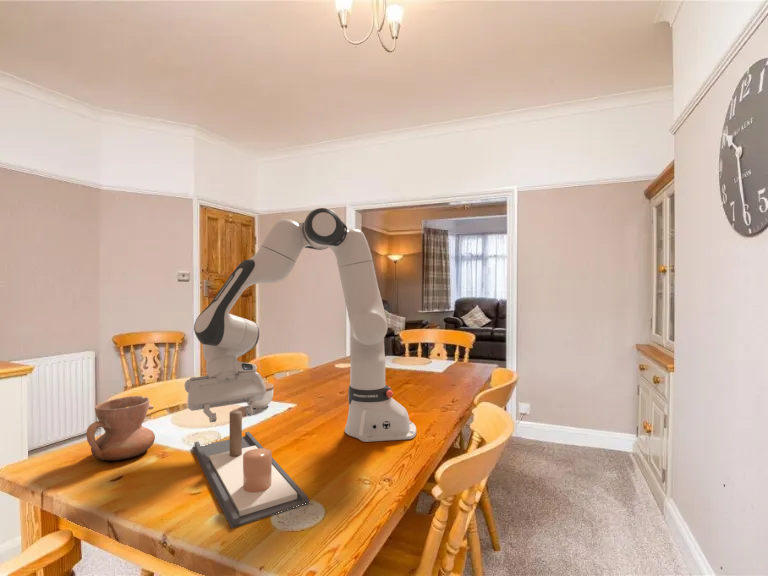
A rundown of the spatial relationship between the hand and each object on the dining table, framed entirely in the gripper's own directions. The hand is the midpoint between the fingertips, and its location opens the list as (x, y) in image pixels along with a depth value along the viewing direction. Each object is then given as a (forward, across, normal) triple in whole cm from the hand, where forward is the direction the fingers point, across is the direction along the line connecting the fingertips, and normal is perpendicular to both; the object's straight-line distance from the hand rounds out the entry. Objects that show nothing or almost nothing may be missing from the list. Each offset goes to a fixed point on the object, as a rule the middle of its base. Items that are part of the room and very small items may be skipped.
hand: (232, 417), depth 108 cm
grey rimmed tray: (+15, 0, 0) cm, 15 cm away
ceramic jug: (-5, -24, +20) cm, 32 cm away
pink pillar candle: (+22, 0, -10) cm, 24 cm away
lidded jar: (-20, +19, +36) cm, 45 cm away
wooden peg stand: (+18, 0, -4) cm, 19 cm away
